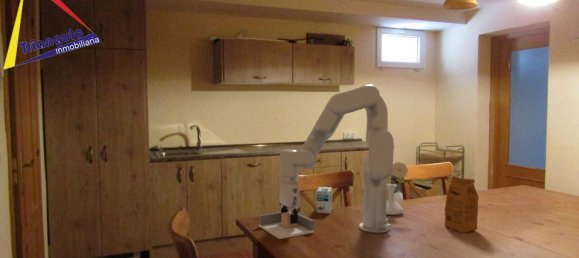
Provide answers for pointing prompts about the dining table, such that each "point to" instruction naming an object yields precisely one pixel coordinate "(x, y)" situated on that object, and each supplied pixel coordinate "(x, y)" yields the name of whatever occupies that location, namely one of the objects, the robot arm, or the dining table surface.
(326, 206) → the light bulb box
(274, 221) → the tray
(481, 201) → the dining table surface
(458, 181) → the coffee package
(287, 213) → the cube
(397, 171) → the flower in vase
